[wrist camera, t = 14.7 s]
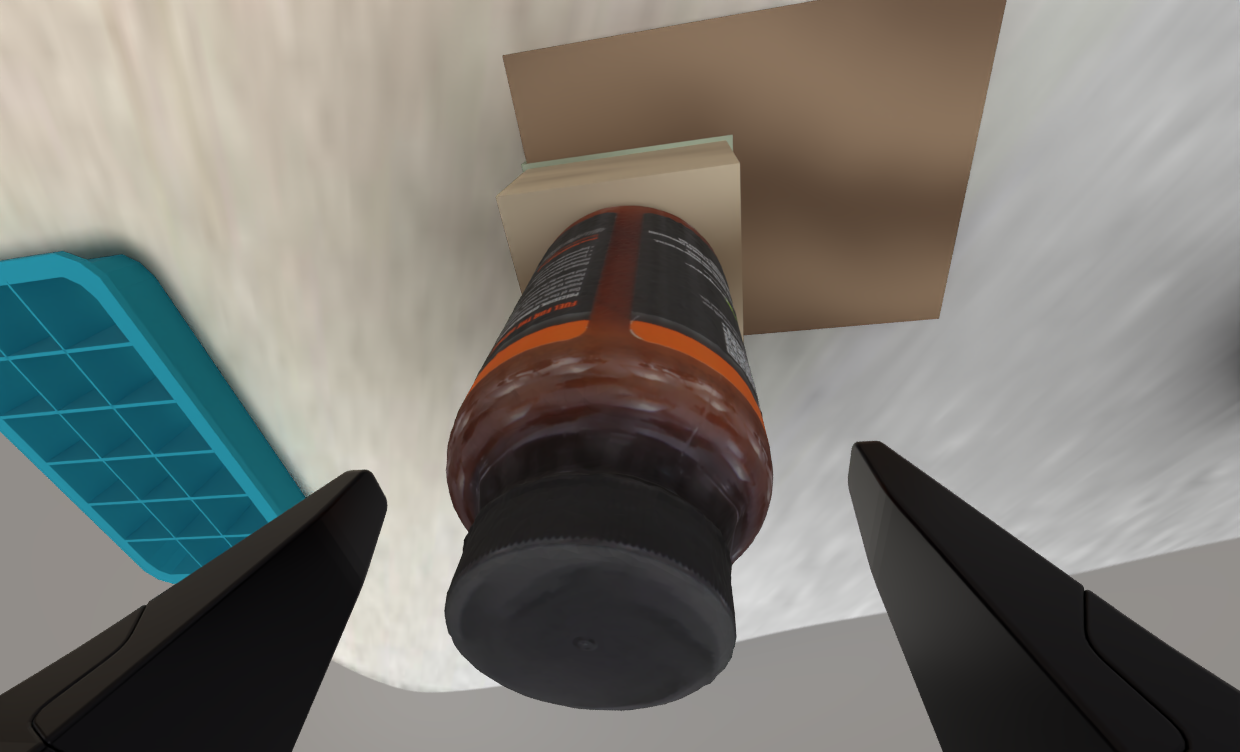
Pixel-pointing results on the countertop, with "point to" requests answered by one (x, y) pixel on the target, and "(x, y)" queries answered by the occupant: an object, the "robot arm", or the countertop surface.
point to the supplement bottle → (609, 472)
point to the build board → (796, 139)
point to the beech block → (630, 202)
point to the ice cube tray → (131, 412)
